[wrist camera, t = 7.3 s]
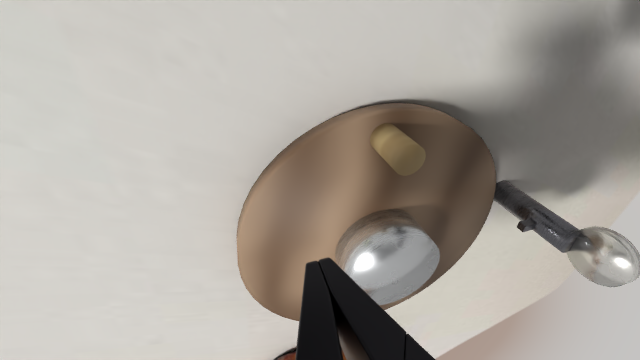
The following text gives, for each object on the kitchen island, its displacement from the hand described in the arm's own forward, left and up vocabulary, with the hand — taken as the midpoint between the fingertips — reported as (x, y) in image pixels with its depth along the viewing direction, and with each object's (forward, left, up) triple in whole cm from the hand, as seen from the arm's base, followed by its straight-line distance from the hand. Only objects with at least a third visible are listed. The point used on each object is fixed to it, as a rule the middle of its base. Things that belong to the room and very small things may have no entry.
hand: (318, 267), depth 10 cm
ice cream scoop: (-20, +9, -10) cm, 24 cm away
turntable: (-6, +9, -10) cm, 15 cm away
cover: (-6, +9, -8) cm, 14 cm away
